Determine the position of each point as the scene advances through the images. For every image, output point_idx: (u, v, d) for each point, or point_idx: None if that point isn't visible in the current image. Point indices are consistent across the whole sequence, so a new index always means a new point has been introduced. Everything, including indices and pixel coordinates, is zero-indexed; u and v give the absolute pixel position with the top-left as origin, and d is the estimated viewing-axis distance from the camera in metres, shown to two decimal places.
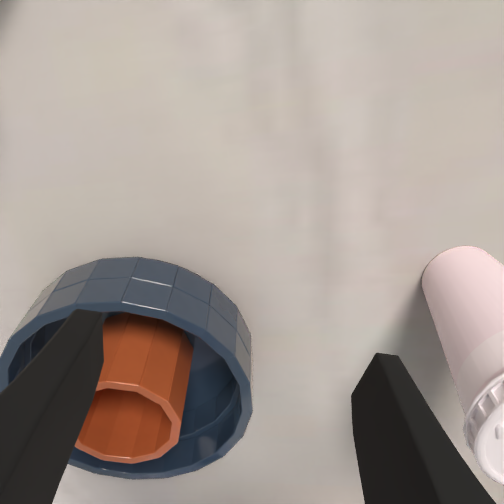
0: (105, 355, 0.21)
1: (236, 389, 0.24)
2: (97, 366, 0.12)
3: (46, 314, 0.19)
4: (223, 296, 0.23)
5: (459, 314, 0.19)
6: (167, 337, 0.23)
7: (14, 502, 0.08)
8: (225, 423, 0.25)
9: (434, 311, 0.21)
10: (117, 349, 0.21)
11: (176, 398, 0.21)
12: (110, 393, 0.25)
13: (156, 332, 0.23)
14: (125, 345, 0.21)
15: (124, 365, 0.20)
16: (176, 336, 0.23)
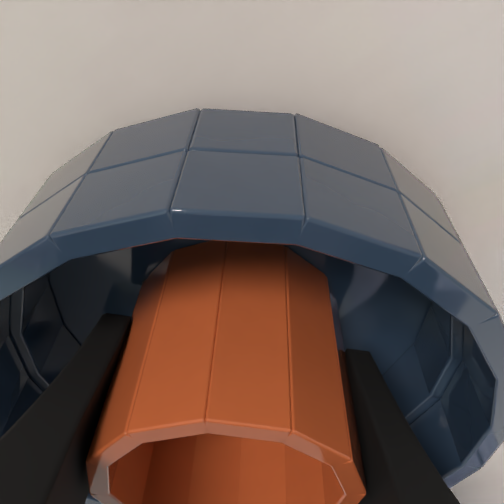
0: (132, 362, 0.09)
1: (455, 327, 0.10)
2: None
3: None
4: (334, 132, 0.09)
5: None
6: (254, 274, 0.10)
7: None
8: (457, 398, 0.11)
9: None
10: (150, 341, 0.09)
11: (317, 407, 0.08)
12: None
13: (226, 273, 0.10)
14: (165, 326, 0.09)
15: (165, 375, 0.08)
16: (274, 265, 0.11)
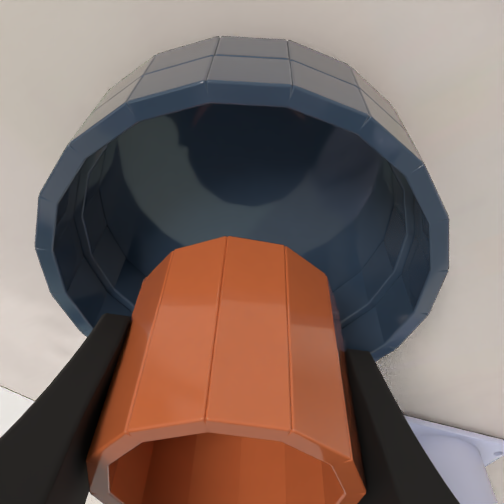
0: (132, 361, 0.09)
1: (407, 205, 0.14)
2: None
3: (46, 185, 0.12)
4: (316, 53, 0.13)
5: None
6: (255, 273, 0.10)
7: None
8: (411, 265, 0.15)
9: None
10: (151, 340, 0.09)
11: (317, 406, 0.08)
12: None
13: (226, 273, 0.10)
14: (165, 324, 0.09)
15: (166, 374, 0.08)
16: (274, 265, 0.11)
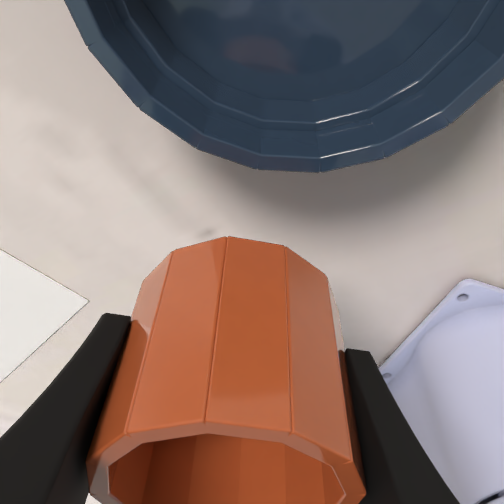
0: (132, 362, 0.09)
1: None
2: None
3: None
4: None
5: None
6: (254, 274, 0.10)
7: None
8: None
9: None
10: (150, 341, 0.09)
11: (317, 407, 0.08)
12: None
13: (226, 273, 0.10)
14: (164, 326, 0.09)
15: (165, 375, 0.08)
16: (274, 265, 0.11)
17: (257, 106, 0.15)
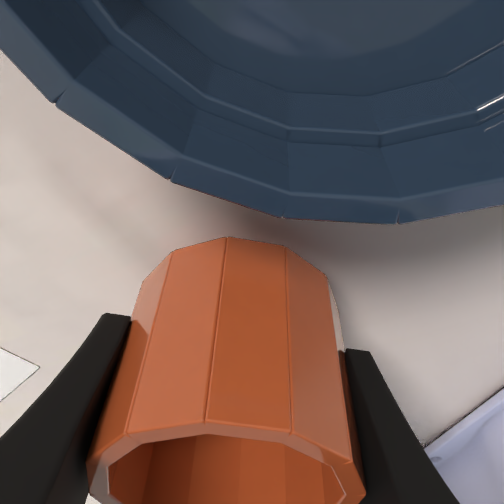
0: (132, 362, 0.09)
1: None
2: None
3: None
4: None
5: None
6: (254, 275, 0.10)
7: None
8: None
9: None
10: (150, 341, 0.09)
11: (317, 407, 0.08)
12: None
13: (226, 274, 0.10)
14: (164, 326, 0.09)
15: (165, 375, 0.08)
16: (274, 265, 0.11)
17: (279, 104, 0.09)
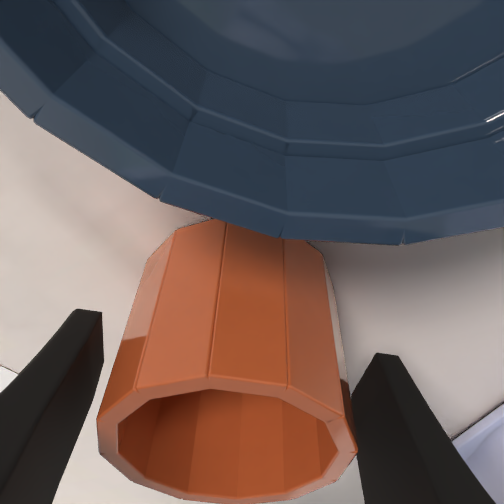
0: (139, 329, 0.10)
1: None
2: (97, 366, 0.12)
3: None
4: None
5: None
6: (253, 249, 0.11)
7: (14, 502, 0.08)
8: None
9: None
10: (156, 309, 0.10)
11: (312, 367, 0.09)
12: None
13: (227, 248, 0.11)
14: (169, 296, 0.10)
15: (171, 338, 0.09)
16: (272, 242, 0.11)
17: (276, 114, 0.09)
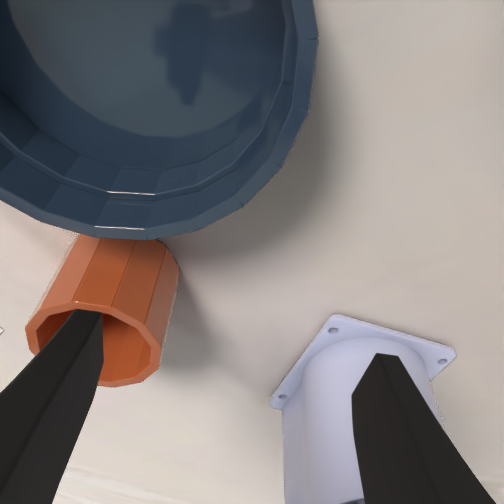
0: (50, 285, 0.19)
1: None
2: (97, 366, 0.12)
3: None
4: None
5: None
6: (116, 243, 0.20)
7: (14, 502, 0.08)
8: (292, 62, 0.13)
9: None
10: (59, 274, 0.19)
11: (131, 301, 0.18)
12: (113, 322, 0.23)
13: (101, 243, 0.20)
14: (67, 267, 0.19)
15: (61, 287, 0.18)
16: None
17: (109, 177, 0.18)
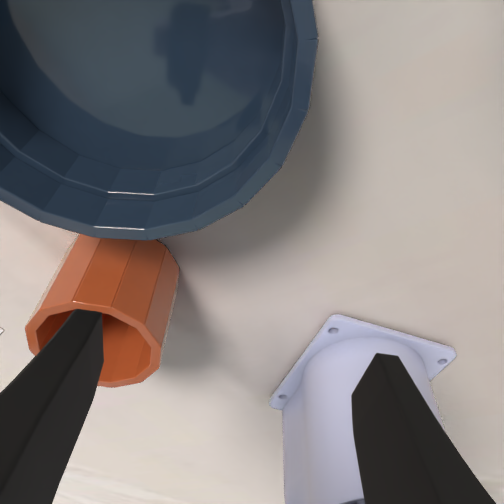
0: (50, 285, 0.19)
1: None
2: (97, 366, 0.12)
3: None
4: None
5: None
6: (116, 243, 0.20)
7: (14, 502, 0.08)
8: (292, 62, 0.13)
9: None
10: (59, 275, 0.19)
11: (131, 301, 0.18)
12: (113, 322, 0.23)
13: (101, 243, 0.20)
14: (66, 268, 0.19)
15: (61, 287, 0.18)
16: None
17: (109, 177, 0.18)
